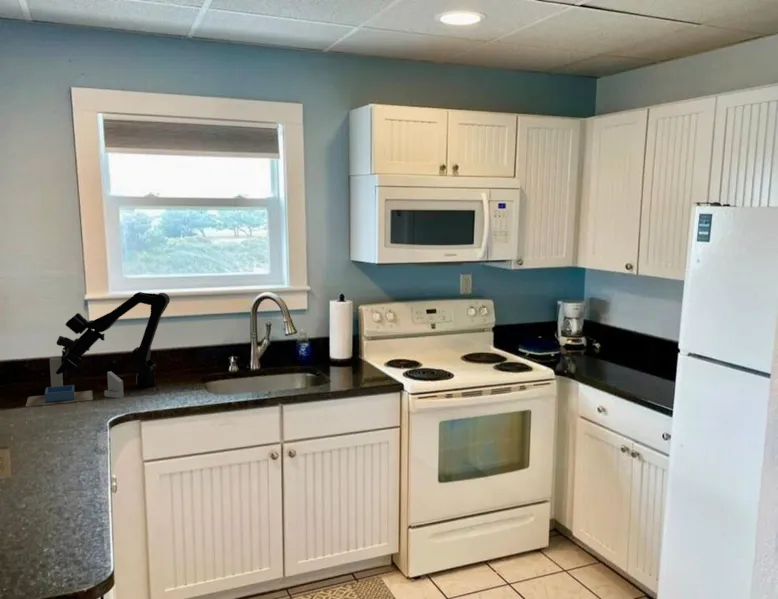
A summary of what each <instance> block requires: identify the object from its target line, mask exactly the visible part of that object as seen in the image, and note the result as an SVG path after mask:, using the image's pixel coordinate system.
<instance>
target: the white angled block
mask: <svg viewBox="0 0 778 599" xmlns="http://www.w3.org/2000/svg"><path fill="white" fill-rule="evenodd" d="M106 375H107V389H106V390H104V397H108V398H113V399H114V398H116V399H117V398H118V400H121V398H122V399H124V397H125V396H124V380H123V379H121V378H120V377H119V376H118V375H116V374H115V373H114V372H112V370H110V371H107V374H106Z"/></svg>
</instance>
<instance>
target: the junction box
mask: <svg viewBox="0 0 778 599" xmlns="http://www.w3.org/2000/svg"><path fill="white" fill-rule="evenodd" d="M75 392H76V391H75V384H69V385H63V386H57V387H51V386H49V387H48V386H47V387H45V390H44V395H45V403H50V402H60V401H70V400H74V397H75Z"/></svg>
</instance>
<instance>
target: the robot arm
mask: <svg viewBox="0 0 778 599" xmlns="http://www.w3.org/2000/svg"><path fill="white" fill-rule="evenodd" d="M170 301H171V299H170V296H169V295H168V294H167V293H165V292H159V293H152V292H151V293H149V292H141V291H139V292H136V293H134V294H133V295H132V296H131V297H130V298H128V299H127V300H126V301H124V302H123V303H122V304H120V305H119V306H118V307H115V308H114V309H113V310H112V311H110V312H108V313H106V314H104V315H102V316H100V317H97V318H95V319H94V320H90V321H88V320H87V319H86V318H85V317H84V316H82V314H81V313H79V312H77V313H76V314H75V315H73V316H72V317H71V318H69V319H68V320H67V322H66V323H65V326H66V327H67V328H68V329H69V330H71V331H72V332H73V333H74V334H76V335H78V334H80V336H79V337H78V338H75V339H71V338H70V337H67V336H62V335H59V336H58V339H57V340H56V345H57V346H60V347H62V349H61V356H60V357H61V361H62V365H61V366H60V367H59V369H58V370H57V372H56V374H60V373H62V374H64V372H66V371H69V370H72V369H74V368H77V367H79V366H80V365H81V364H82V358H83V355H85V353H86V352H89V350H91V347H92V346H93V345H95V343H96V342H97V341H98V340H99V339H100V340H101V341H102V342H103V341H105V335H106V334H105V333H103V332H105V331H107V330H109V329H110V328H111V327H112V326H114V324H115V323H116V322H117V321H118V320H119V319H120V318H121V317H122V316H123V315H125V314H126V313H128V312H130V310H132V309H133V308H135V307H136V306H137V305H139V304H142V305H143V304H144V305H148V306H150V316H148V317H149V319H147V320H148V321H147V324H146V326H145V330H144V332H143V336H142V339H141V342H140V344H139V346H136V347H135V348H134V349H132V353H131V356H130V358H129V359H130V364H131V366H132V367H133V368H134V369H135V371H136V373H137V374H136V375H135V376H136V377H135V378H136V386H137V387H138V388H139V387H142V388H149V387H150V388H151V386H152V387H156V381H155V380H156V379H155V378H156V376H155V374H156V373H155V367H156V365H157V364H156V362H155V361H153V360H152V359H151V354H152V353H151V351H152V349H151V348H152V344H153V341H154V338H155V336H156V332H157V329H158V326H159V324H160V320H161V317H162V315H163V314H164V312H165V310H167V307H168V305H169V303H170Z"/></svg>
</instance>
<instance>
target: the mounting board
mask: <svg viewBox="0 0 778 599" xmlns="http://www.w3.org/2000/svg"><path fill="white" fill-rule="evenodd" d="M74 392H75V397H74V400H70V401H60V402H50V403H45V394H43V395H33V396H28V397H27V401H26V404H25V407H26V408H27V407H35V406H37V407H38V406H45V405H55V404H64V403H75V402H84V401H86V402H87V401H94V400H93V399H94V397H93V390H84V391H83V390H82V391H74Z"/></svg>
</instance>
